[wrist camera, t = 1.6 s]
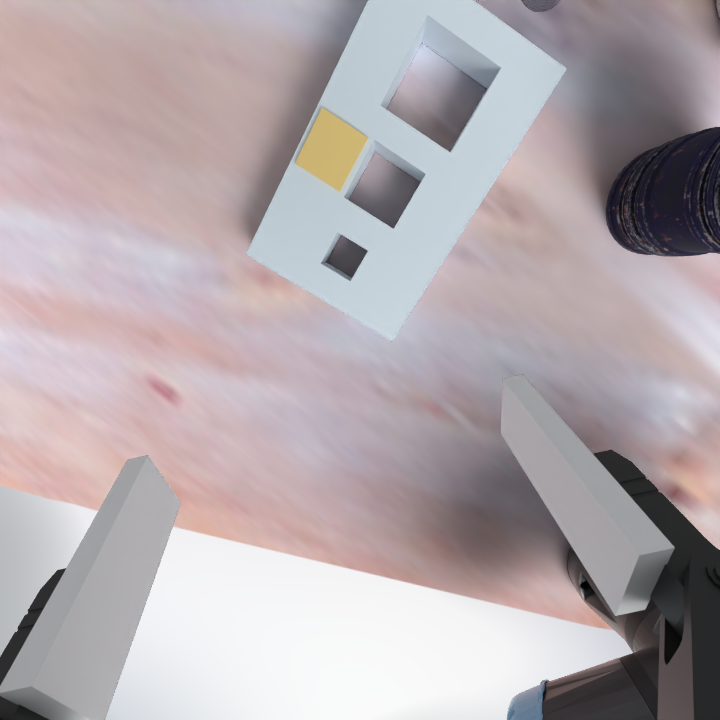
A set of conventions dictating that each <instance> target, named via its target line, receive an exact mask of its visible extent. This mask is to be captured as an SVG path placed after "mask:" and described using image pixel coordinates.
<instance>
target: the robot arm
mask: <svg viewBox="0 0 720 720" xmlns="http://www.w3.org/2000/svg"><path fill="white" fill-rule="evenodd" d="M501 435H502V437H503V438H504V440H505V441H506V443H507V445H508V446H509V448H510V449H511V451H512V453H513V454H514V456H515V457H516V459H517V460H518V462H519V464H520V465H521V467H522V468H523V470H524V472H525V473H526V475H527V476H528V478H529V480H530V481H531V483H532V484H533V486H534V488H535V489H536V491H537V492H538V494H539V495H540V497H541V499H542V500H543V502H544V503H545V505H546V507H547V508H548V510H549V511H550V513H551V515H552V516H553V518H554V519H555V521H556V523H557V524H558V526H559V527H560V529H561V530H562V532H563V534H564V535H565V537H566V538H567V540H568V542H569V543H570V545H571V546H572V548H571V550H570V553H569V557H568V572H569V576H570V579H571V581H572V583H573V584H574V586H575V588H576V590H577V591H578V593H579V595H580V596H581V598H582V599H583V600H584V602H585V603H586V604H587V605H588V606H589V607H590V608H591V609H592V610H593V611H594V612H595V613H596V614H597V615H599V616H600V617H601V618H602V619H603V620H604V621H605V622H606V623H607V624H608V625H609V626H610V627H611V628H613V629H614V630H615V631H616V632H617V633H618V634H619V635H620V636H621V637H622V638H623V639H624V640H625V641H626V642H627V644H628V645H629V647H630V648H631V650H632V651H633V653H632V654H629V655H626V656H624V657H621V658H617V659H614V660H611V661H609V662H606V663H603V664H600V665H597V666H595V667H592V668H589V669H586V670H583V671H580V672H577V673H574V674H571V675H568V676H565V677H562V678H559V679H556V680H553V681H549V680H543V681H542V682H541V684H540V685H538V686H536V687H533V688H531V689H529V690H526V691H524V692H522V693H519V694H518V695H516V696H515V697H514V698H513V699H512V701H511V703H510V705H509V708H508V714H507V720H720V550H719V549H717V548H716V547H715V546H713V545H712V544H711V543H710V542H709V541H708V540H707V539H706V538H705V537H704V536H703V535H702V534H701V533H700V532H699V531H698V530H697V529H696V528H695V527H694V526H693V525H692V524H691V523H690V522H689V521H688V520H687V519H686V518H685V517H684V516H683V515H682V514H681V513H680V511H679V510H678V509H677V508H676V507H675V506H674V505H673V504H672V503H671V502H670V501H669V500H668V499H667V498H666V497H665V496H664V495H663V494H662V493H661V492H660V493H659V492H658V489H657V488H656V487H655V486H654V485H653V484H652V483H651V482H650V481H649V480H647V479H646V477H645V475H644V474H643V473H642V472H641V471H640V470H639V469H638V468H637V467H636V466H635V465H634V464H633V463H632V462H631V461H629V460H628V459H626V458H624V457H623V456H621V455H619V454H618V453H616V452H614V451H612V450H608V451H604V452H599V453H594V454H592V452H591V451H590V450H589V449H588V448H587V447H586V446H585V444H584V443H583V442H582V441H581V440H580V439H579V438H578V436H577V435H576V434H575V433H574V432H573V431H572V430H571V428H570V427H569V426H568V425H567V424H566V423H565V422H564V420H563V419H562V418H561V417H560V416H559V415H558V414H557V412H556V411H555V410H554V409H553V408H552V407H551V406H550V404H549V403H548V402H547V401H546V400H545V399H544V398H543V396H542V395H541V394H540V393H539V392H538V391H537V390H536V389H535V387H534V386H533V385H532V384H531V383H530V382H529V381H528V379H527V378H526V377H525V376H524V375H523V374H522V375H517V376H513V377H508V378H503V379H502V407H501ZM180 505H181V502H180V500H179V499H178V498H177V496H176V495H175V493H174V492H173V490H172V489H171V487H170V486H169V485H168V483H167V482H166V480H165V479H164V477H163V476H162V474H161V473H160V472H159V470H158V469H157V467H156V466H155V464H154V463H153V462H152V460H151V459H150V457H149V456H148V455H147V456H142V457H137V458H133V459H128V460H127V461H126V463H125V465H124V467H123V468H122V470H121V472H120V474H119V476H118V477H117V479H116V481H115V483H114V485H113V486H112V488H111V490H110V492H109V493H108V495H107V497H106V499H105V501H104V502H103V504H102V506H101V508H100V509H99V511H98V513H97V515H96V517H95V518H94V520H93V522H92V524H91V526H90V528H89V529H88V531H87V533H86V535H85V536H84V538H83V540H82V541H81V543H80V545H79V547H78V549H77V550H76V552H75V554H74V556H73V558H72V559H71V561H70V563H69V565H68V566H67V568H65V569H61V570H57V571H56V573H55V574H54V575H53V576H52V577H51V578H50V579H49V580H48V582H47V583H46V584H45V585H44V586H43V587H42V588H41V589H40V591H39V593H38V594H37V596H36V598H35V599H34V601H33V603H32V604H31V606H30V608H29V609H28V614H27V615H25V616H24V618H23V620H22V621H21V623H20V625H19V626H18V631H17V632H15V633H14V635H13V636H12V638H11V640H10V642H9V643H8V645H7V647H6V648H5V650H4V652H3V653H2V655H1V657H0V720H105V718H106V715H107V712H108V709H109V707H110V704H111V701H112V698H113V695H114V692H115V690H116V687H117V684H118V680H119V678H120V675H121V672H122V669H123V667H124V664H125V661H126V658H127V655H128V653H129V650H130V647H131V644H132V641H133V638H134V636H135V633H136V630H137V627H138V624H139V621H140V618H141V616H142V613H143V610H144V607H145V604H146V601H147V598H148V596H149V593H150V590H151V587H152V584H153V581H154V579H155V575H156V573H157V570H158V567H159V564H160V561H161V559H162V556H163V553H164V550H165V547H166V544H167V542H168V539H169V536H170V533H171V530H172V527H173V525H174V522H175V519H176V516H177V513H178V510H179V507H180Z"/></svg>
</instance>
